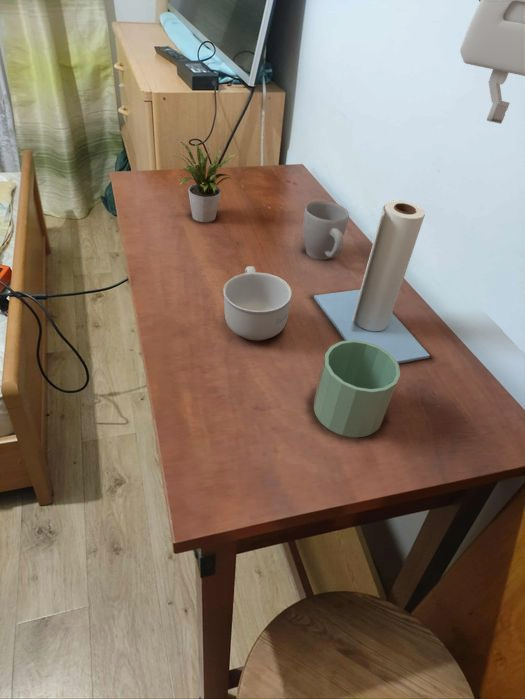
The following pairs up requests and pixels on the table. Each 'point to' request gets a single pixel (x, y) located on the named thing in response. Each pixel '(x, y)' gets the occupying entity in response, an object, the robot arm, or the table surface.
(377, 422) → the sage green pencil cup
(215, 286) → the table surface
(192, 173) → the house plant
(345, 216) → the mug
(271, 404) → the table surface
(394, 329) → the mat
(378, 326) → the paper towel roll
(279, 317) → the teacup
